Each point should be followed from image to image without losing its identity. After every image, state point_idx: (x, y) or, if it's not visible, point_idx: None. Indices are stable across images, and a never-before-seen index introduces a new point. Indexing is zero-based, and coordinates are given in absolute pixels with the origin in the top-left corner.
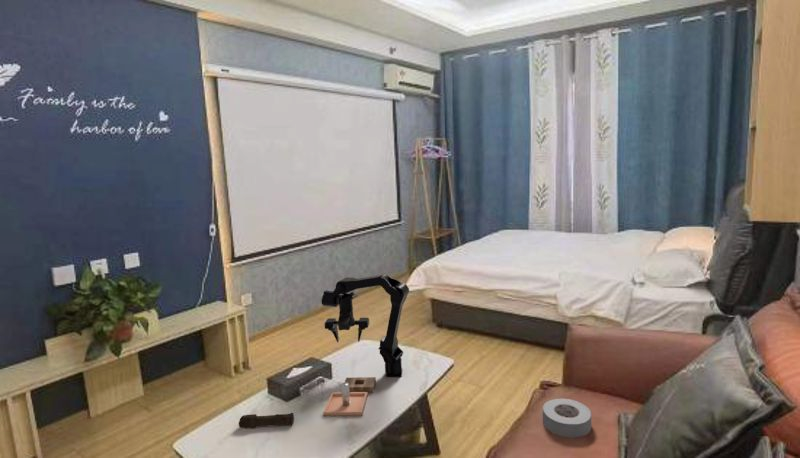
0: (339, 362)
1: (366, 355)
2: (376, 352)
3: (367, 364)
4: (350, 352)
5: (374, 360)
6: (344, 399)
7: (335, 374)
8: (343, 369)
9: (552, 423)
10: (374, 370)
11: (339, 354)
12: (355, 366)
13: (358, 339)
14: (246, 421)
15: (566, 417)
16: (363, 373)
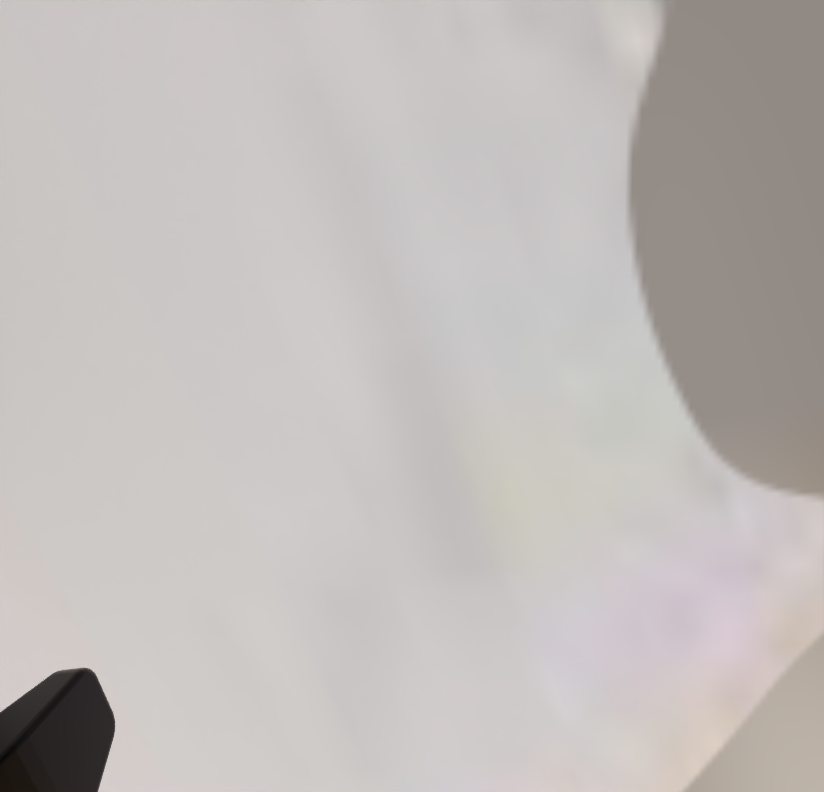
0: (670, 483)
1: (350, 695)
2: (255, 768)
3: (230, 471)
4: (591, 747)
5: (186, 585)
6: None
7: (627, 71)
8: (539, 274)
9: None
10: (43, 308)
11: (730, 691)
12: (382, 394)
13: (3, 734)
14: None
15: None
16: (162, 185)
